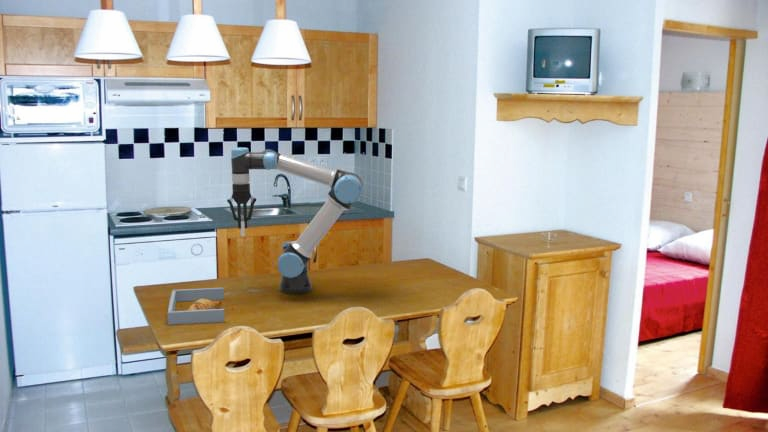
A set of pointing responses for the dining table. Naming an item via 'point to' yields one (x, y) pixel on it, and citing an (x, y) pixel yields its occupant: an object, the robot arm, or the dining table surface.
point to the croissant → (204, 305)
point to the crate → (195, 315)
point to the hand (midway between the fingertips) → (242, 235)
